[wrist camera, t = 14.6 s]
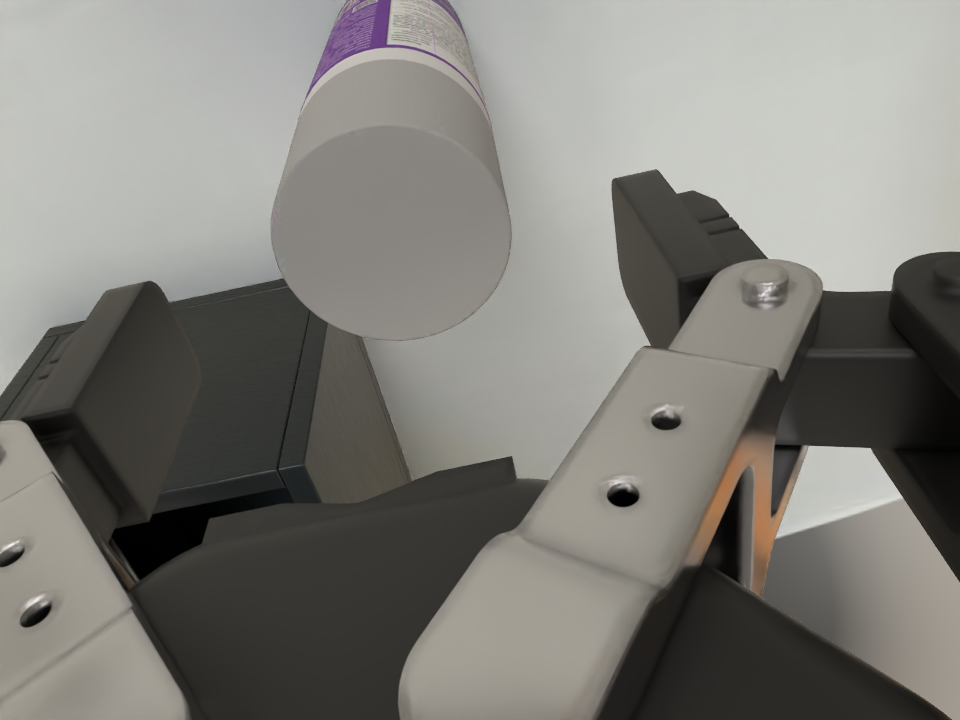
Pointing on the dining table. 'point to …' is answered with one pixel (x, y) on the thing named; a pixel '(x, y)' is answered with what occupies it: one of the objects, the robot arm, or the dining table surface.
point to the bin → (257, 418)
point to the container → (393, 178)
